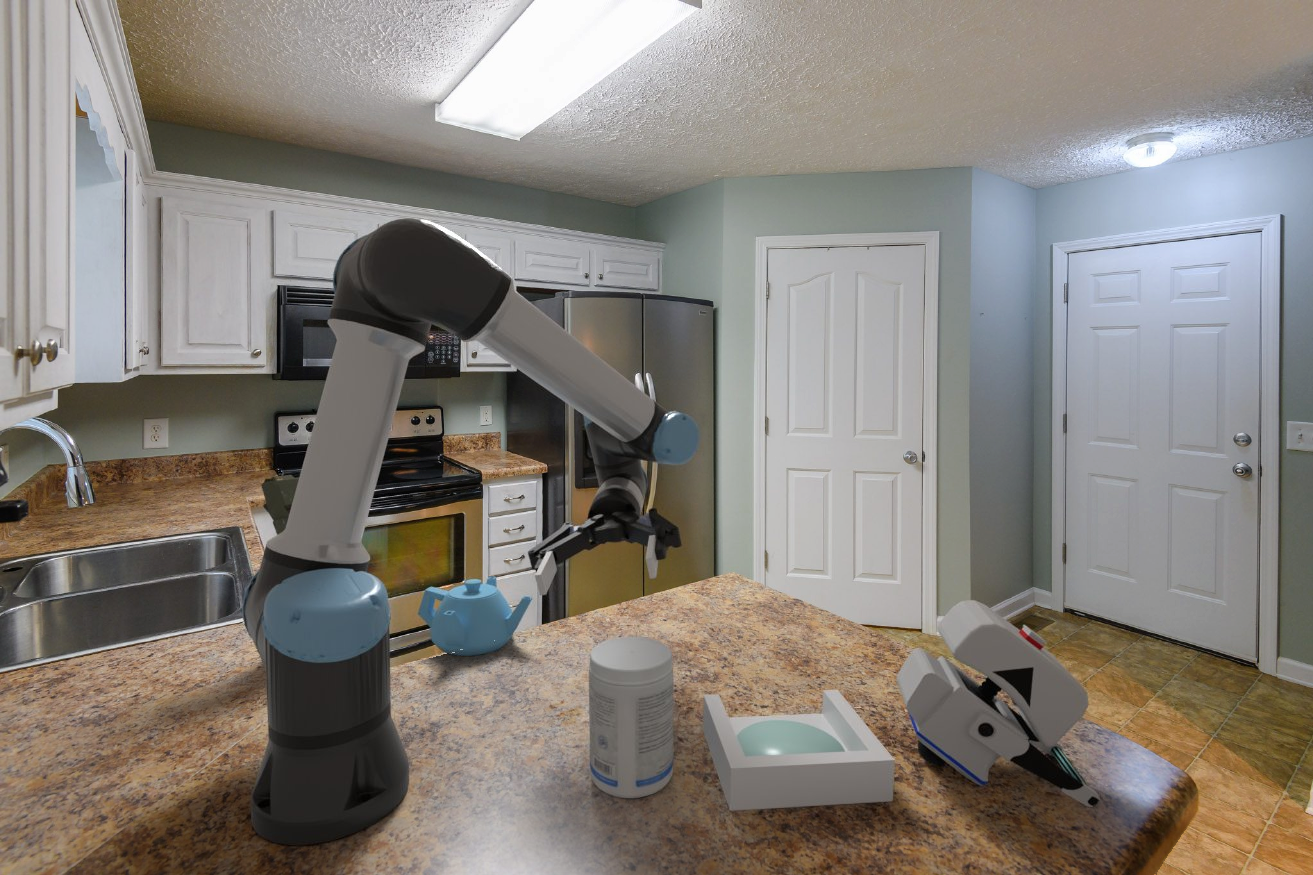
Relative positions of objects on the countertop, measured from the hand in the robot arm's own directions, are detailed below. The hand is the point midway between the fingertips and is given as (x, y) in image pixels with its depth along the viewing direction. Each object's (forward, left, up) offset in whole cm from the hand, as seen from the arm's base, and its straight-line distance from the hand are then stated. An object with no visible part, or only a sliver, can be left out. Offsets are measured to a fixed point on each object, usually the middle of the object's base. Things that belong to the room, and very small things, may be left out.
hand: (595, 576), depth 77 cm
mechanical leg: (-48, +34, -22) cm, 62 cm away
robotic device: (+46, -7, -22) cm, 52 cm away
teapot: (-20, +35, -22) cm, 46 cm away
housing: (+23, -4, -22) cm, 32 cm away
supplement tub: (+4, -5, -22) cm, 23 cm away
